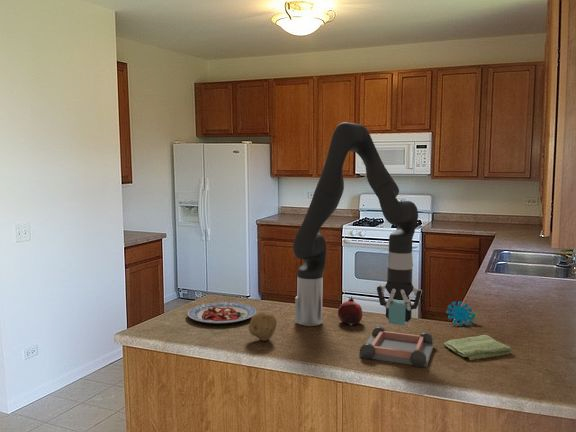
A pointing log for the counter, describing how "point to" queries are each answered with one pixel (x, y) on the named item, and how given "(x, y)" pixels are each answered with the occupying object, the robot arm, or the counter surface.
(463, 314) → the gear
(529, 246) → the counter surface
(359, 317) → the fruit
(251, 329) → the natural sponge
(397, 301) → the teal glassy cube
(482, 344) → the washcloth
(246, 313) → the ceramic plate
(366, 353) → the chassis
